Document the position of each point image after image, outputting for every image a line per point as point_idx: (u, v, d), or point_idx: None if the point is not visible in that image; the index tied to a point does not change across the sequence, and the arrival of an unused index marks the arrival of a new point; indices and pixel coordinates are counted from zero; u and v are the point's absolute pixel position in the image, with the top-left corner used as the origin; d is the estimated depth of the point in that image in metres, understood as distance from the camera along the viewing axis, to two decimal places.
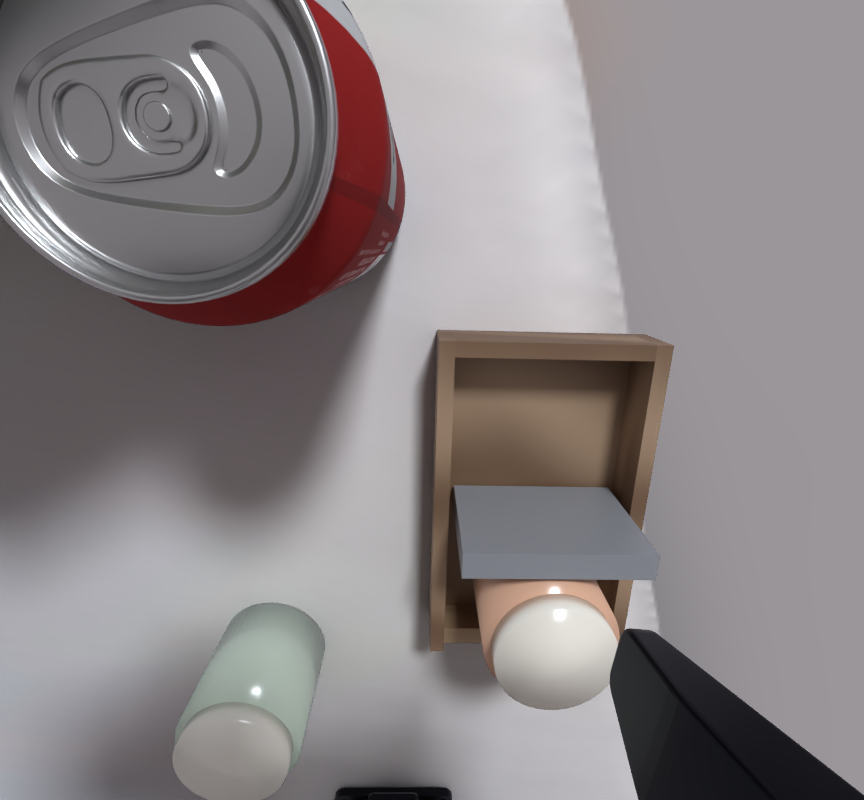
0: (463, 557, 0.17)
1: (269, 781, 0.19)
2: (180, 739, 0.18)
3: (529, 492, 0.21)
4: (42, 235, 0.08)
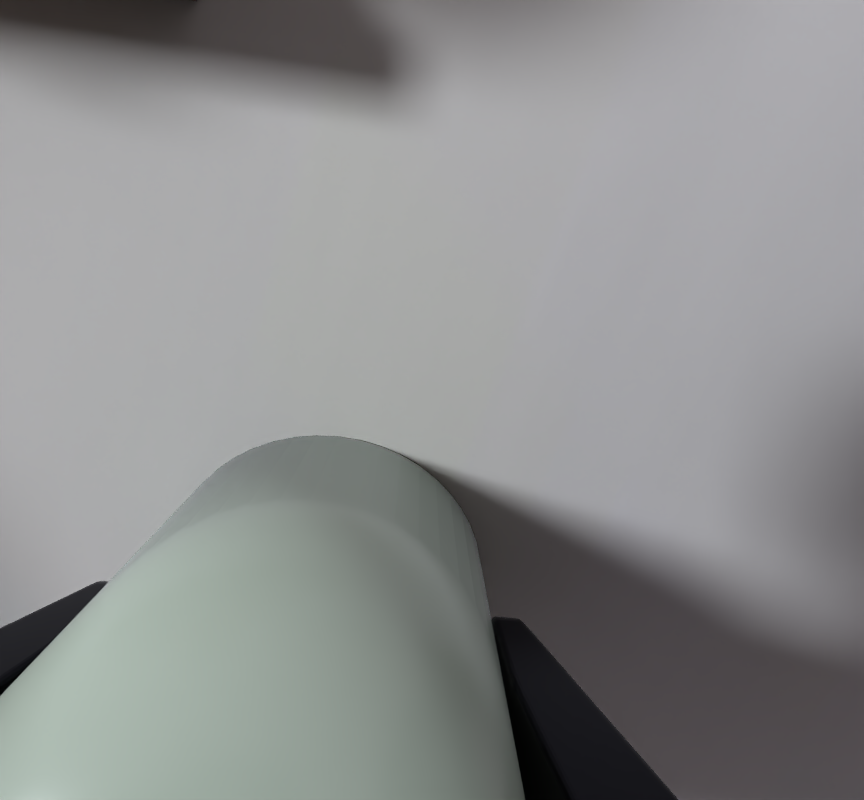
0: None
1: None
2: None
3: None
4: None
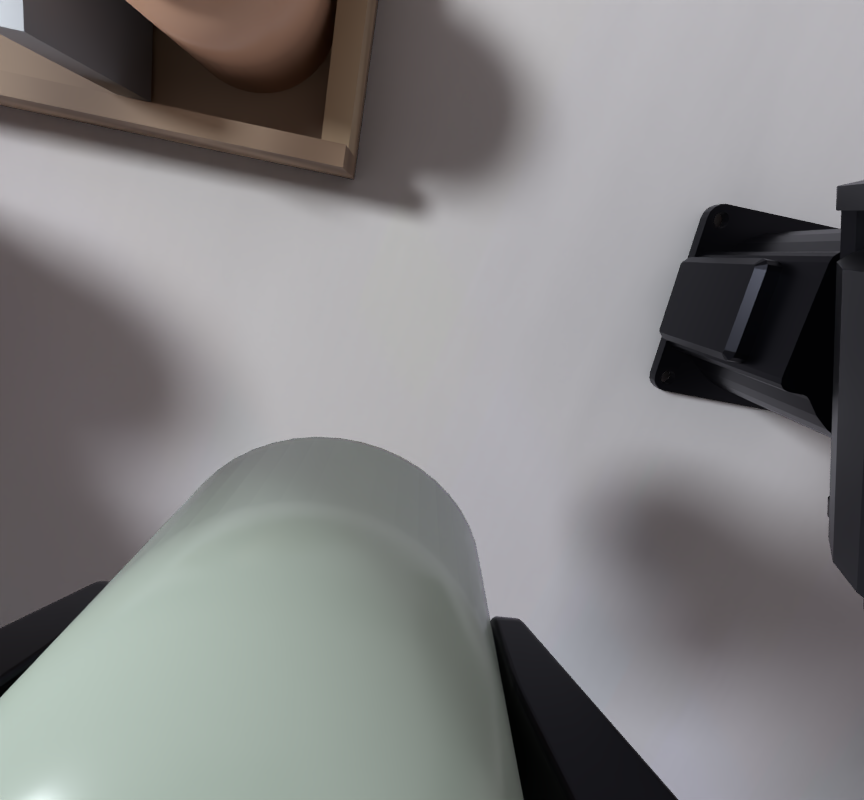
0: None
1: None
2: None
3: None
4: None
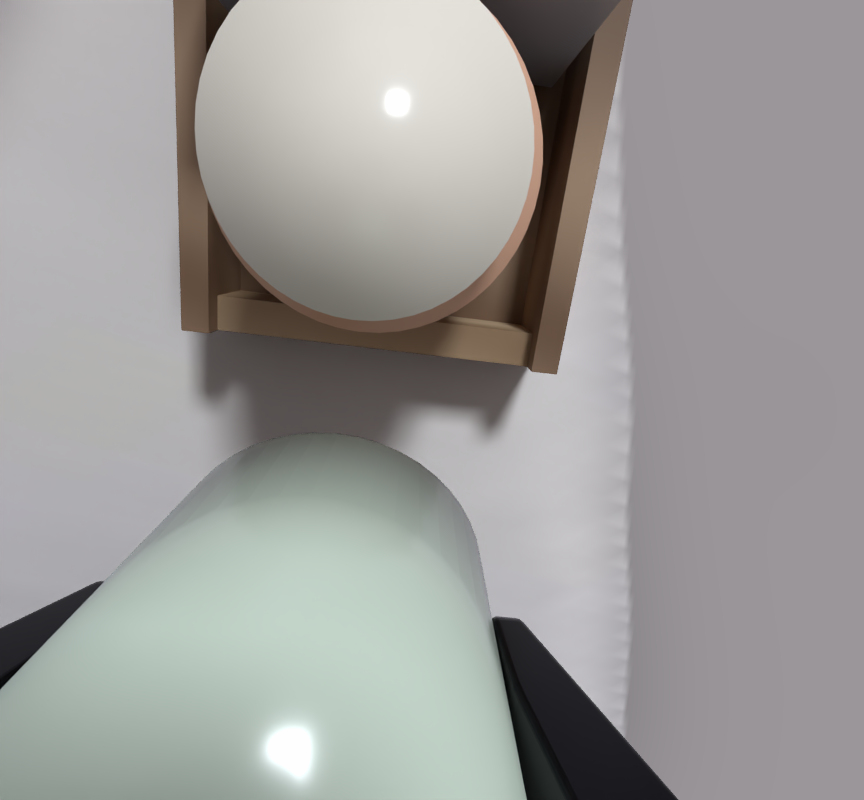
0: None
1: None
2: None
3: None
4: None
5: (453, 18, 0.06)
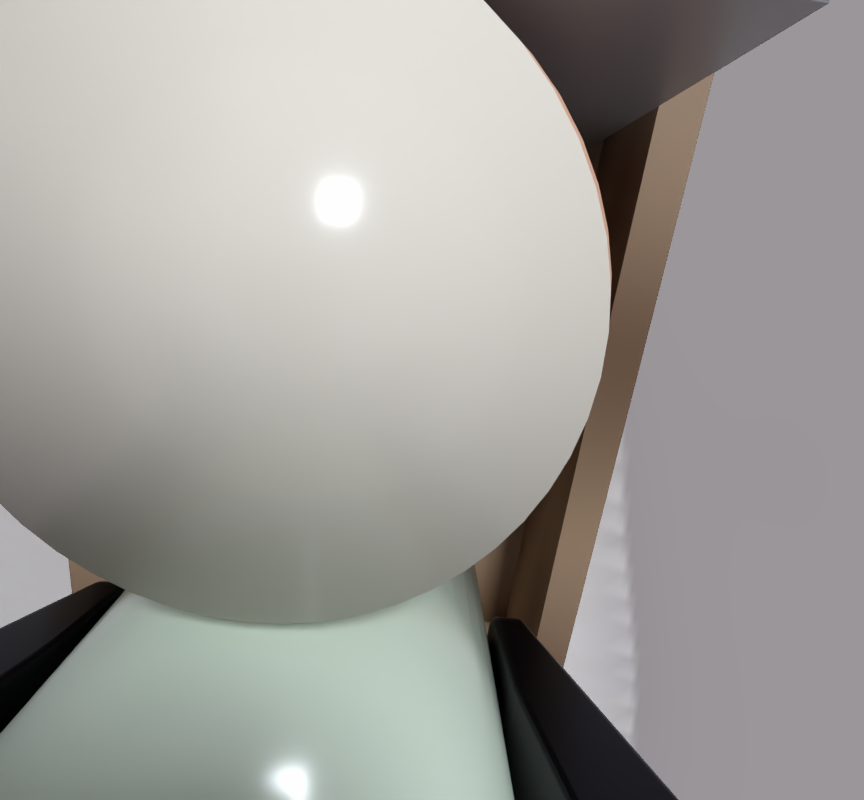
0: None
1: None
2: None
3: None
4: None
5: (441, 59, 0.03)
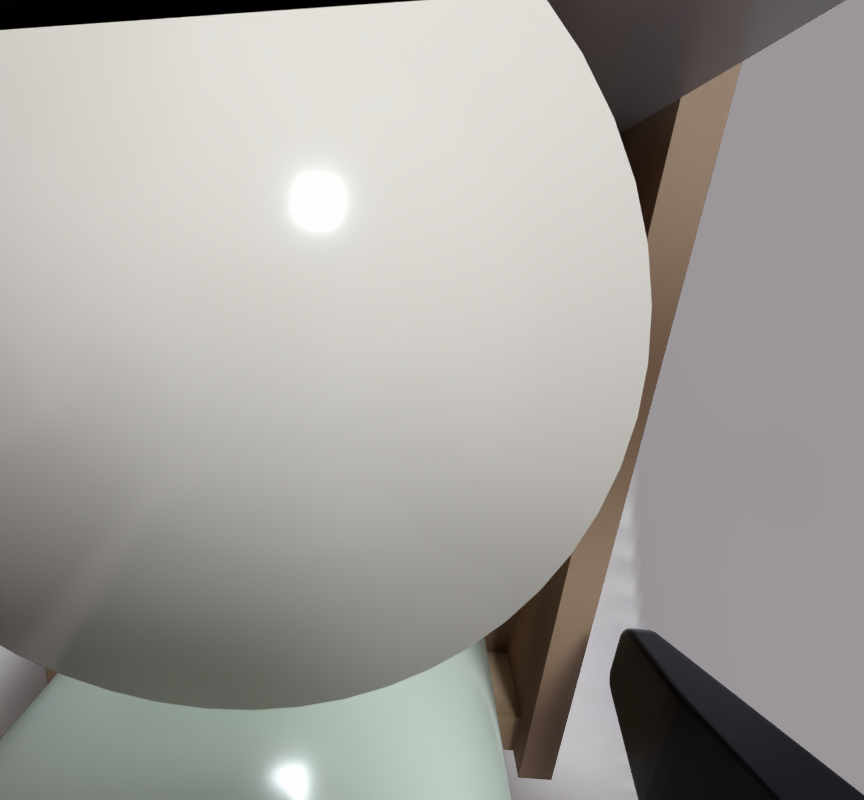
0: None
1: None
2: None
3: None
4: None
5: (436, 15, 0.02)
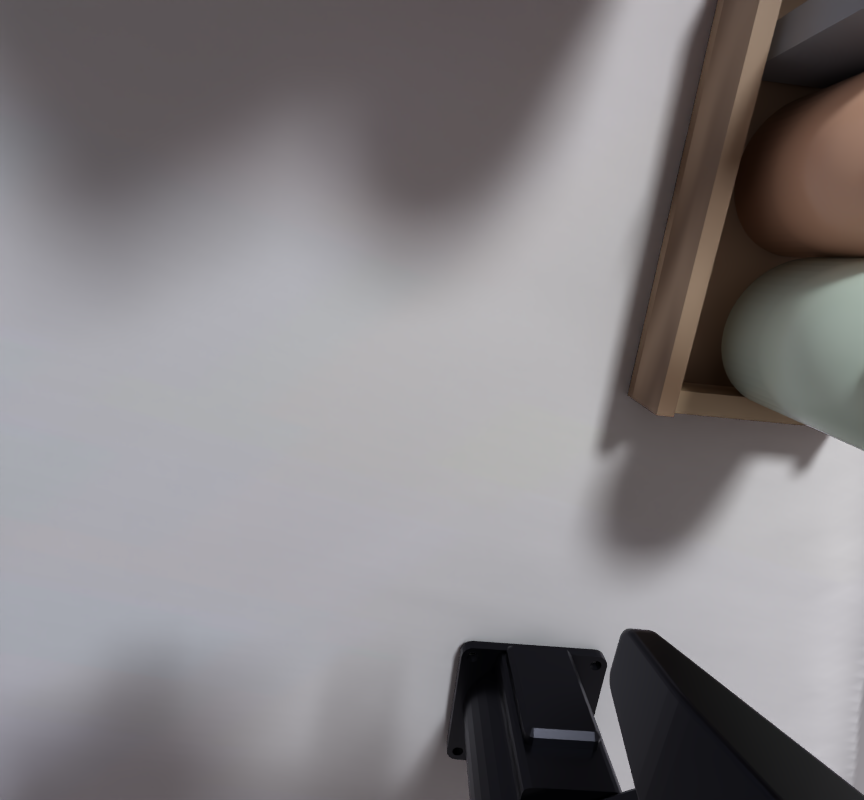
0: None
1: None
2: None
3: None
4: None
5: None
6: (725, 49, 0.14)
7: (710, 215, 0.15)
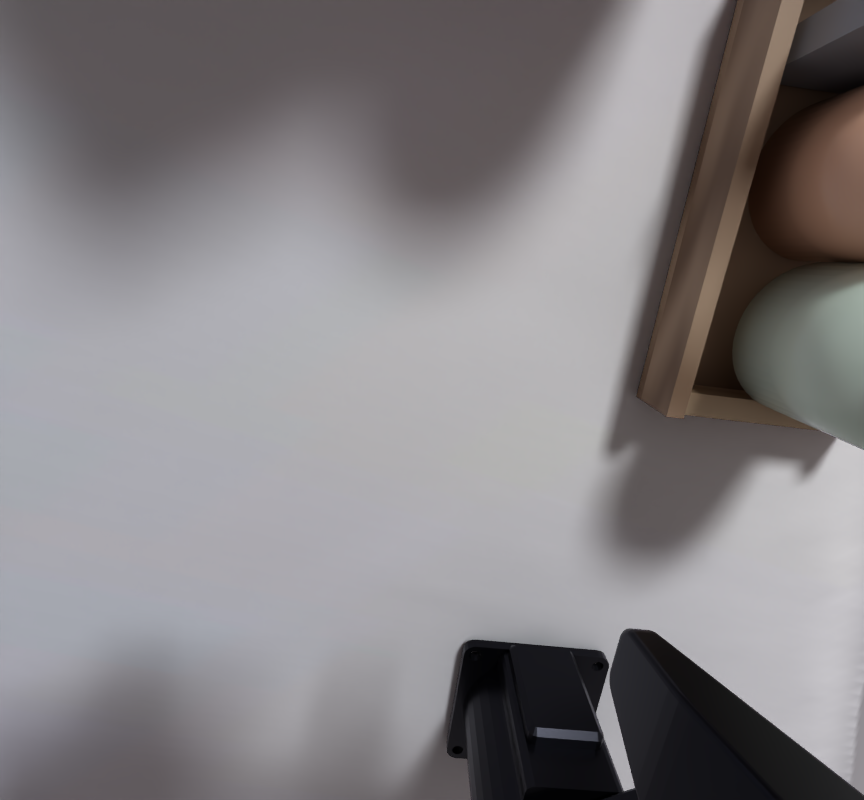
0: None
1: None
2: None
3: None
4: None
5: None
6: (744, 52, 0.14)
7: (725, 217, 0.15)
